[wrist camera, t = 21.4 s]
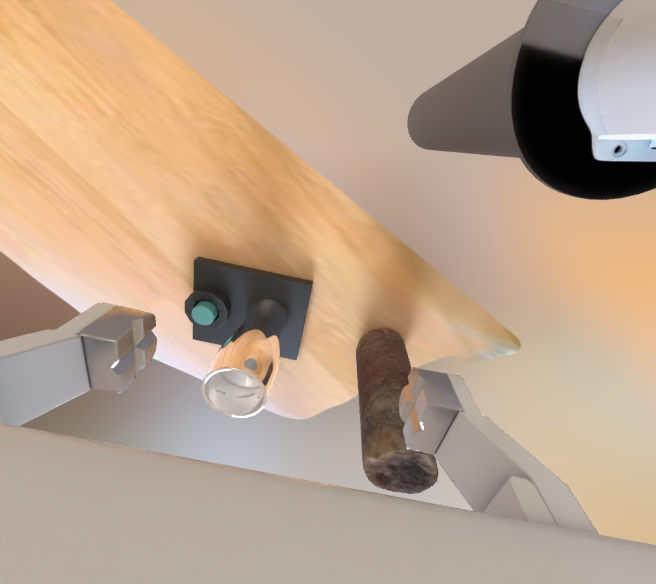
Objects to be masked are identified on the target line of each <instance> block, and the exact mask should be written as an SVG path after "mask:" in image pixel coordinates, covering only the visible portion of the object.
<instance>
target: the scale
mask: <svg viewBox="0 0 656 584" xmlns="http://www.w3.org/2000/svg"><path fill="white" fill-rule="evenodd" d="M312 284H313V281H309V280H304V279H299V278H295V277H290V276H285V275H281V274H276V273H271V272H267V271H262V270H257V269H252V268H248V267H243V266H238V265H234V264H229V263H224V262H220V261H215V260H210V259H206V258H201V257H198V258H196V259H195V260H194V292H193V293H192V294H191V295H190V296H189V297H188V299H187V300H186V301H185V313H186V315H187V316H188V318H189V320H190V321H191V322H192V323H193V339H194V340H199V341H204V342H209V343H214V344H219V345H223V343H224V342H225V341H226V340H227V339H228V338H229V336H230V335H231V334H232V333H233V332H234V331H235V330H236V329H238V328H239V327H240V326H241V325H242V324H243V322H244V321H245V318H246V313H247V310H248V308H249V306H250V305H251V304H252V303H253V302H255V301H256V300H259V299H263V298H268V299H273V300H276V301H278V302H280V303H281V304H282V305H283V306H284V307H285V308H286V310H287V311H288V314H289V324H288V326H287V328H286V330H285V331H284V333H283V334H282V336H281V344H280V357H283V358H288V359H293V360H297V356H298V351H299V346H300V342H301V337H302V332H303V327H304V322H305V317H306V313H307V308H308V303H309V298H310V293H311V288H312ZM201 301H209V302H211V303H213V304H214V305H215V306H216V308H217V311H218V314H217V316H216V318H215V319H214V320H213V322H212V323H211V324H209V325H201V324H198V323H197V322H195V321H194V319H193V318H192V310H193V308H194V307H195V306H196V305H197V304H198V303H199V302H201Z"/></svg>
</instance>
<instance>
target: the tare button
mask: <svg viewBox="0 0 656 584" xmlns="http://www.w3.org/2000/svg"><path fill="white" fill-rule="evenodd" d="M217 314H218V311H217V308H216V306H215V305H214V304H213V303H211V302H209V301H201V302H199V303H198V304H197V305H196V306H195V307H194V308H193V310H192V318H193V319H194V321H195V322H197V323H198V324H201V325H209V324H211V323H212V322H213V320H214V319H215V318H216V316H217Z"/></svg>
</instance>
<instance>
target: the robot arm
mask: <svg viewBox="0 0 656 584" xmlns="http://www.w3.org/2000/svg"><path fill="white" fill-rule="evenodd" d="M576 98H577V105H578V109H579V112H580V115H581V117H582V119H583V121H584V123H585V125H586V126H587V128H588V130H589V133H590V148H591V155H592V157H593V158H594V159H595V160H597V161H636V162H656V0H623V1H621V2H620V3H619V4H618V5H617V6H616V7H615V8H614V9H613V10H612V12H611V13H610V14H609V15H608V16H607V17H606V19H605V20H604V21H603V22H602V24H601V25H600V27H599V28H598V29H597V31H596V33H595V34H594V36H593V37H592V39H591V41H590V43H589V45H588V47H587V49H586V51H585V54H584V56H583V59H582V62H581V65H580V68H579V72H578V78H577V86H576ZM617 146H618V149H617V151H616V152H614V150H615V148H616V147H617ZM155 326H156V320H155V316H154V315H153V314H152V313H149V312H144V311H140V310H135V309H131V308H127V307H122V306H117V305H113V304H108V303H97V304H96V305H94V306H92V307H91V308H89V309H88V310H86V311H84V312H83V313H81V314H80V315H78V316H77V317H75V318H73V319H72V320H70V321H69V322H67V323H66V324H64V325H62V326H61V327H59V328H58V329H56V330H51V329H47V330H43V331H39V332H35V333H31V334H27V335H22V336H19V337H14V338H10V339H6V340H2V341H0V584H656V545H652V544H647V543H641V542H635V541H630V540H625V539H619V538H614V537H609V536H604V535H599V533H598V532H597V530H596V529H595V528H594V526H593V524H592V523H591V521H590V519H589V518H588V516H587V515H586V513H585V512H584V510H583V509H582V507H581V505H580V504H579V502H578V501H577V499H576V498H575V496H574V495H573V493H572V492H571V490H570V489H569V487H568V486H567V485H566V484H565V483H564V482H563V481H562V480H560V479H559V478H558V477H557V476H556V475H555V474H554V473H552V472H551V471H550V470H549V469H548V468H546V467H545V466H544V465H543V464H542V463H541V462H539V461H538V460H537V459H536V458H535V457H534V456H532V455H531V454H530V453H529V452H528V451H527V450H525V449H524V448H523V447H522V446H521V445H519V444H518V443H517V442H516V441H515V440H514V439H512V438H511V437H510V436H509V435H508V434H506V433H505V432H504V431H503V430H502V429H501V428H499V427H498V426H497V425H496V424H495V423H494V422H492V421H491V420H490V419H489V418H488V417H485V416H482V415H481V413H480V411H479V409H478V407H477V405H476V403H475V401H474V399H473V397H472V395H471V393H470V391H469V389H468V387H467V385H466V383H465V381H464V379H463V378H462V377H461V376H459V375H453V374H447V373H439V372H434V371H429V370H424V369H419V368H414V367H413V368H412V370H411V371H410V373H409V375H408V380H409V384H408V385H407V386H405V387H403V390H402V392H401V395H400V400H399V413H400V418H401V419H402V420H403V421H404V422H405V426H404V428H403V434H404V438H405V443H406V448H407V449H409V450H414V451H418V452H423V453H427V454H432V455H435V456H434V457H435V458H436V460H437V461H438V462H439V464H440V465H441V466H442V468H443V469H444V471H445V472H446V473H447V475H448V476H449V478H450V479H451V480H452V482H453V483H454V484H455V486H456V487H457V488H458V490H459V491H460V493H461V494H462V495H463V497H464V498H465V499H466V501H467V502H468V504H469V505H470V506H471V508H472V509H473V510H474V511H469V510H463V509H459V508H453V507H448V506H442V505H437V504H431V503H426V502H421V501H415V500H410V499H405V498H400V497H394V496H389V495H383V494H378V493H372V492H367V491H362V490H356V489H351V488H346V487H341V486H335V485H330V484H324V483H319V482H314V481H309V480H302V479H297V478H292V477H287V476H281V475H276V474H271V473H266V472H260V471H255V470H249V469H244V468H238V467H233V466H228V465H223V464H217V463H212V462H206V461H201V460H195V459H190V458H185V457H179V456H174V455H169V454H164V453H158V452H153V451H147V450H142V449H137V448H131V447H126V446H120V445H115V444H110V443H104V442H99V441H94V440H88V439H83V438H77V437H71V436H67V435H61V434H56V433H51V432H45V431H40V430H35V429H29V428H24V427H18V426H20V425H22V424H23V423H26V422H28V421H30V420H32V419H34V418H36V417H38V416H40V415H42V414H44V413H46V412H47V411H50V410H52V409H54V408H56V407H57V406H60V405H62V404H64V403H66V402H68V401H69V400H71V399H73V398H75V397H77V396H79V395H81V394H83V393H85V392H87V391H89V390H90V389H96V390H102V391H108V392H115V393H123V391H124V390H125V389H126V388H127V387H128V386H129V385H130V383H132V381H133V380H134V379H135V378H136V371H137V370H139V369H142V368H144V367H146V366H147V365H148V364H149V362H150V361H151V360H152V358H153V355H154V353H155V351H156V345H157V338H156V336H155V335H154V334H153V332H152V331H151V330H152V329H153V328H154V327H155Z"/></svg>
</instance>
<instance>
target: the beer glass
mask: <svg viewBox="0 0 656 584" xmlns="http://www.w3.org/2000/svg"><path fill="white" fill-rule="evenodd" d="M288 324H289V314H288V311H287V310H286V308H285V307H284V306H283V305H282V304H281V303H280V302H278V301H276V300H273V299H268V298H263V299H259V300H256V301H255V302H253V303H252V304H251V305H250V306H249V308H248V310H247V313H246V318H245V321H244V322H243V324H242V325H241V326H240V327H239V328H238V329H236V330H235V331H234V332H233V333H232V334H231V335H230V336H229V338H228V339H227V340H226V341H225V342H224V343H223V345H222V346H221V348H220V349H219V351H218V352H217V354H216V356H215V358H214V359H213V361H212V364H211V366H210V368H209V370H208V372H207V374H206V376H205V378H204V380H203V382H202V387H201V388H202V394H203V397H204V398H205V400H206V402H207V403H208V404H209V405H210V406H211V407H212V408H213V409H215V410H217V411H218V412H220V413H222V414H224V415H228V416H232V417H248V416H251V415H254V414H256V413H258V412H259V411H260V410H261V409H262V408H263V407H264V406H265V404H266V400H267V398H268V395H269V393H270V391H271V388H272V386H273V383H274V381H275V378H276V375H277V371H278V367H279V360H280V344H281V336H282V334H283V333H284V331H285V330H286V328H287V326H288Z"/></svg>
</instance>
